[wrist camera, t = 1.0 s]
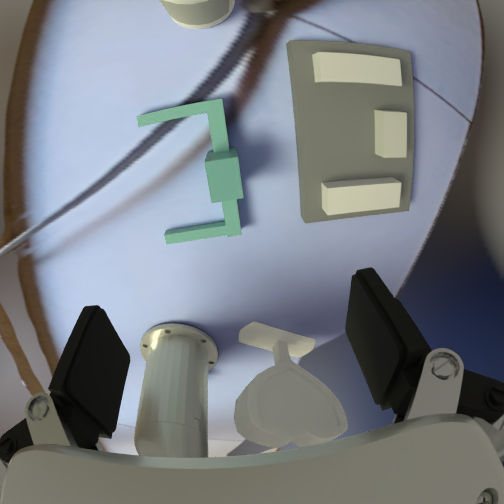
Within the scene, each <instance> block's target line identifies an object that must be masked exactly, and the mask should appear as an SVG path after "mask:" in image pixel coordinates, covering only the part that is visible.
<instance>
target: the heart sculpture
mask: <svg viewBox="0 0 504 504" xmlns="http://www.w3.org/2000/svg"><path fill="white" fill-rule="evenodd" d="M315 341H316V339H312V338H309V337H305V336H302V335H298V334H295V333H291V332H288V331H284V330H281V329H277V328H274V327H271V326H267V325H264V324H261V323H258V322H252V323H250V324H248V325H246V326H245V327H243V328H242V329H241V330H240V332H239V342H240V343H244V344H247V345H251V346H255V347H258V348H262V349H266V350H270V351H273V355H274V360H275V366H272V367H270V368H268V369H266V370H265V371H263V372H261V373H260V374H258V375H257V376H256V377H255V378H254V379H253V380H252V381H251V382H250V383H249V384H248V386H247V387H246V388H245V389H244V390H243V392H242V393H241V394H240V396H239V397H238V399H237V400H236V404H235V413H234V420H235V424H236V428H237V432H238V433H239V434H241V435H242V436H243V437H244V438H245V439H247V440H250V441H252V442H255V443H257V444H260V445H264V446H267V447H276V448H278V447H281V446H284V445H286V444H287V443H289V442H290V441H291V442H292V443H294V444H296V445H297V446H299V447H307V446H312V445H317V444H321V443H326V442H330V441H331V440H333V439H335V438H336V437H338V436H339V435H341V434H342V433H344V432H345V431H346V429H347V428H348V425H347V419H346V415H345V413H344V411H343V408H342V406H341V404H340V402H339V400H338V399H337V398H336V397H335V395H334V394H333V393H332V392H331V391H330V389H329V388H328V387H327V386H325V385H324V384H323V383H322V382H321V381H319V380H318V379H317V378H316V377H314V376H313V375H311V374H310V373H309V372H307V371H306V370H304V369H302V368H301V367H300V366H298V365H297V364H296V363H294V362H293V361H292V360H290V356H294V357H301V356H303V355H305V354H307V353H308V352H310V351H311V350H312V349H313V347H314V345H315ZM289 355H290V356H289Z"/></svg>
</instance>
